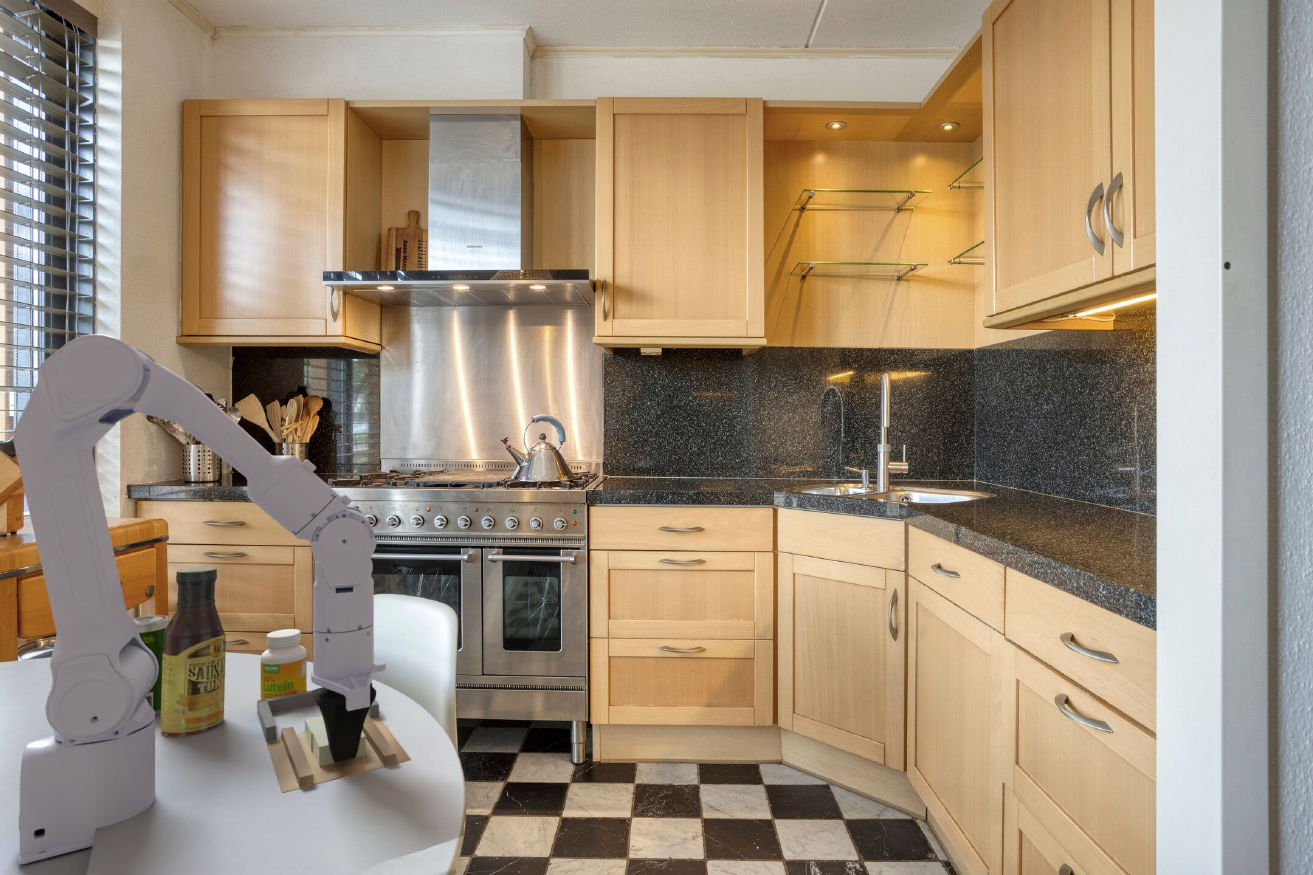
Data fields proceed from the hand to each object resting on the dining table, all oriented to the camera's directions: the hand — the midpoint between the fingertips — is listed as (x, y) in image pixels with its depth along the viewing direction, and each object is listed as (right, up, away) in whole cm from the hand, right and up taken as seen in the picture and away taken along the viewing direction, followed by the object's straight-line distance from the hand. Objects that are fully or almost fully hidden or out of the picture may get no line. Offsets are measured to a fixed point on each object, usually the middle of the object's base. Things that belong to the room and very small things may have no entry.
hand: (344, 757), depth 72 cm
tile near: (-2, -1, +3) cm, 3 cm away
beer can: (-34, -3, +18) cm, 39 cm away
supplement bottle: (-17, -3, +20) cm, 27 cm away
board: (-2, -2, +4) cm, 5 cm away
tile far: (-4, -1, +6) cm, 8 cm away
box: (-9, -2, +13) cm, 16 cm away
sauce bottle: (-22, -3, +10) cm, 25 cm away
